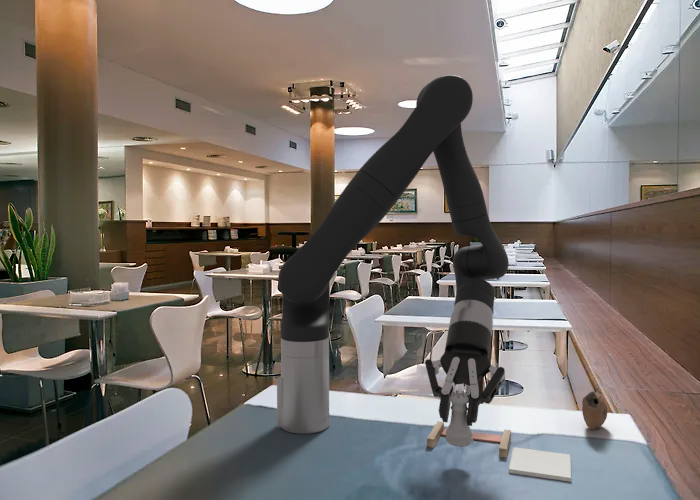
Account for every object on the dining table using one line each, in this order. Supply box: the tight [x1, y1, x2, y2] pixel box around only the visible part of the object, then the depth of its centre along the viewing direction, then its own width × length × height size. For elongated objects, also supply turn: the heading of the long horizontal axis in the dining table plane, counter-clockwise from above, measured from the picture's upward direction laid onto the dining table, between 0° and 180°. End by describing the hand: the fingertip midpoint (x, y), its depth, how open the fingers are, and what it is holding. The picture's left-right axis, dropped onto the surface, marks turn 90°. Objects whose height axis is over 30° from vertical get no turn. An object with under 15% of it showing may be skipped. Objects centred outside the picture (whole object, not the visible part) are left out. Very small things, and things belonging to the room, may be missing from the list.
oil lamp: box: [581, 390, 608, 430], centre depth 103 cm, size 9×4×8 cm, turn 147°
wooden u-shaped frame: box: [426, 421, 512, 459], centre depth 97 cm, size 13×9×2 cm
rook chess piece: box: [445, 390, 474, 448], centre depth 88 cm, size 4×4×8 cm
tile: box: [508, 446, 572, 483], centre depth 88 cm, size 9×9×1 cm
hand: (456, 421), depth 87 cm, fingers closed on rook chess piece, 3 cm apart
